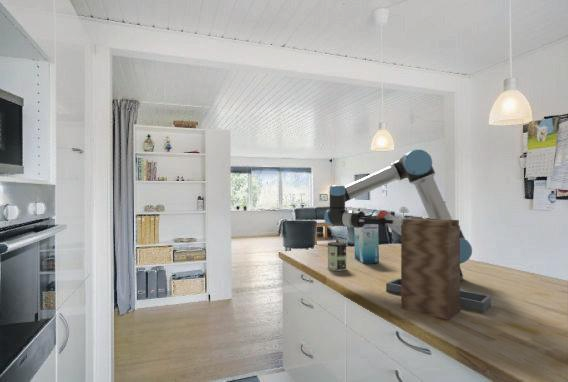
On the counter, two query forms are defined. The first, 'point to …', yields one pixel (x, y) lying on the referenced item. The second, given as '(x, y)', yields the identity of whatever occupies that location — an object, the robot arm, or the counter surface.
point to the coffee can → (337, 256)
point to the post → (430, 266)
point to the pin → (385, 215)
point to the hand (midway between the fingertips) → (403, 222)
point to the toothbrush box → (367, 243)
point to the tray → (466, 298)
